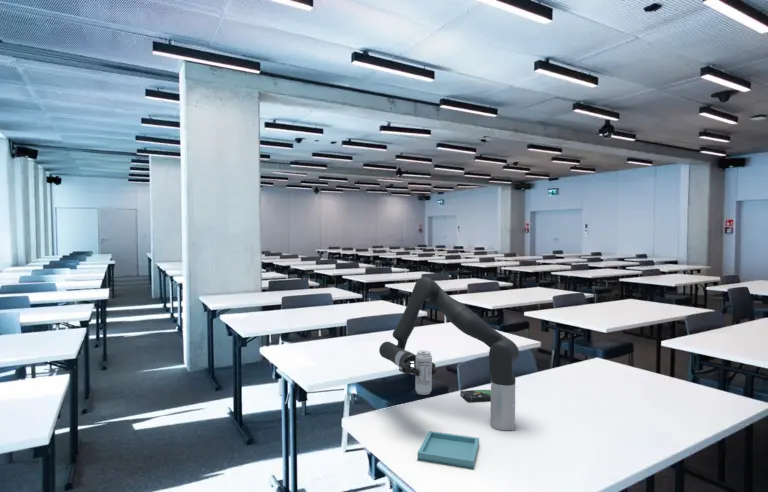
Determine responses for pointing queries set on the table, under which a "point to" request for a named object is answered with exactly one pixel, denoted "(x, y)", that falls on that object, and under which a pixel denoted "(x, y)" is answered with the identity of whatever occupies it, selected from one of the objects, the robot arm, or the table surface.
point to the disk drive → (476, 395)
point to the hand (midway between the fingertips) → (426, 372)
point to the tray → (449, 449)
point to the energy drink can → (424, 373)
